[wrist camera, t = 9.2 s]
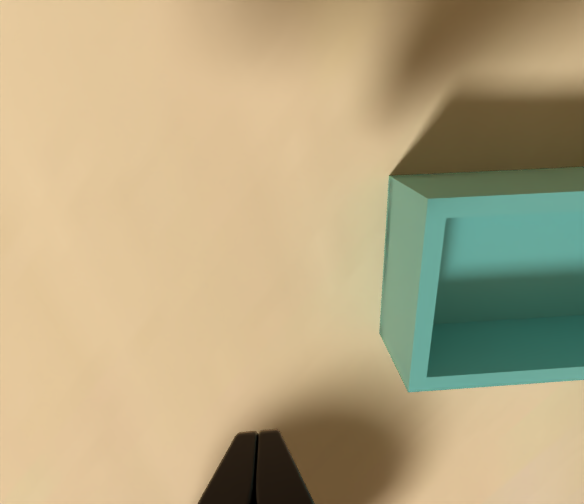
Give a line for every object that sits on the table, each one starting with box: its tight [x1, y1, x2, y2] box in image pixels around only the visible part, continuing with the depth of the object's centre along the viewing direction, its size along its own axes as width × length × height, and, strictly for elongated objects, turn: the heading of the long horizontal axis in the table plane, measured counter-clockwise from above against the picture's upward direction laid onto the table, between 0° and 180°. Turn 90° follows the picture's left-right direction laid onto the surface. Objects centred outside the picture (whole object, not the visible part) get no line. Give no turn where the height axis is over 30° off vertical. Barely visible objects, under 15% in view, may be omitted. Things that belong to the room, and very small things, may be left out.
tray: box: [379, 167, 584, 392], centre depth 14 cm, size 7×13×4 cm, turn 92°
